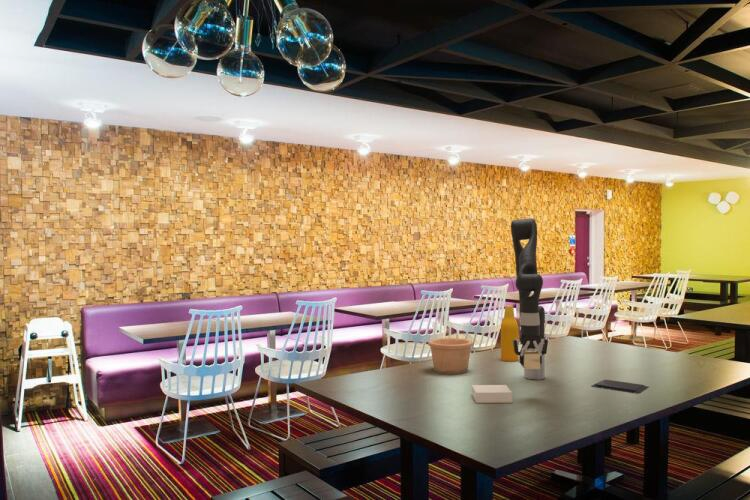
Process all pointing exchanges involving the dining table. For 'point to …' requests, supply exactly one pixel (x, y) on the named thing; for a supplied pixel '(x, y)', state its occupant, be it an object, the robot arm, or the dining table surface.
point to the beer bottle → (508, 335)
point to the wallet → (621, 386)
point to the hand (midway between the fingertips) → (530, 364)
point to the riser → (491, 394)
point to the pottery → (450, 355)
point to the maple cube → (531, 360)
